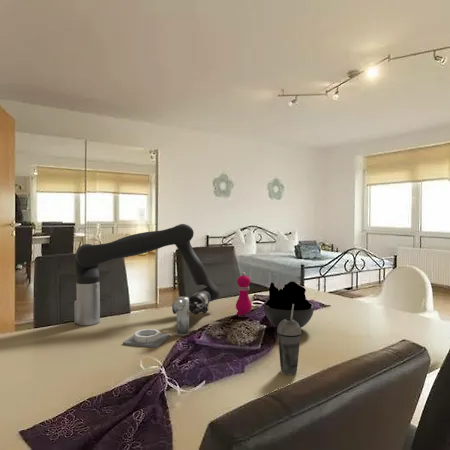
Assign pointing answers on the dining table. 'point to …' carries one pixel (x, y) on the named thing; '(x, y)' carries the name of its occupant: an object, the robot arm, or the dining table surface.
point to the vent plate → (151, 344)
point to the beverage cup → (289, 344)
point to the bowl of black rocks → (288, 304)
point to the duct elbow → (182, 315)
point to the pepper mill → (243, 295)
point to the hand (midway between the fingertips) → (184, 312)
